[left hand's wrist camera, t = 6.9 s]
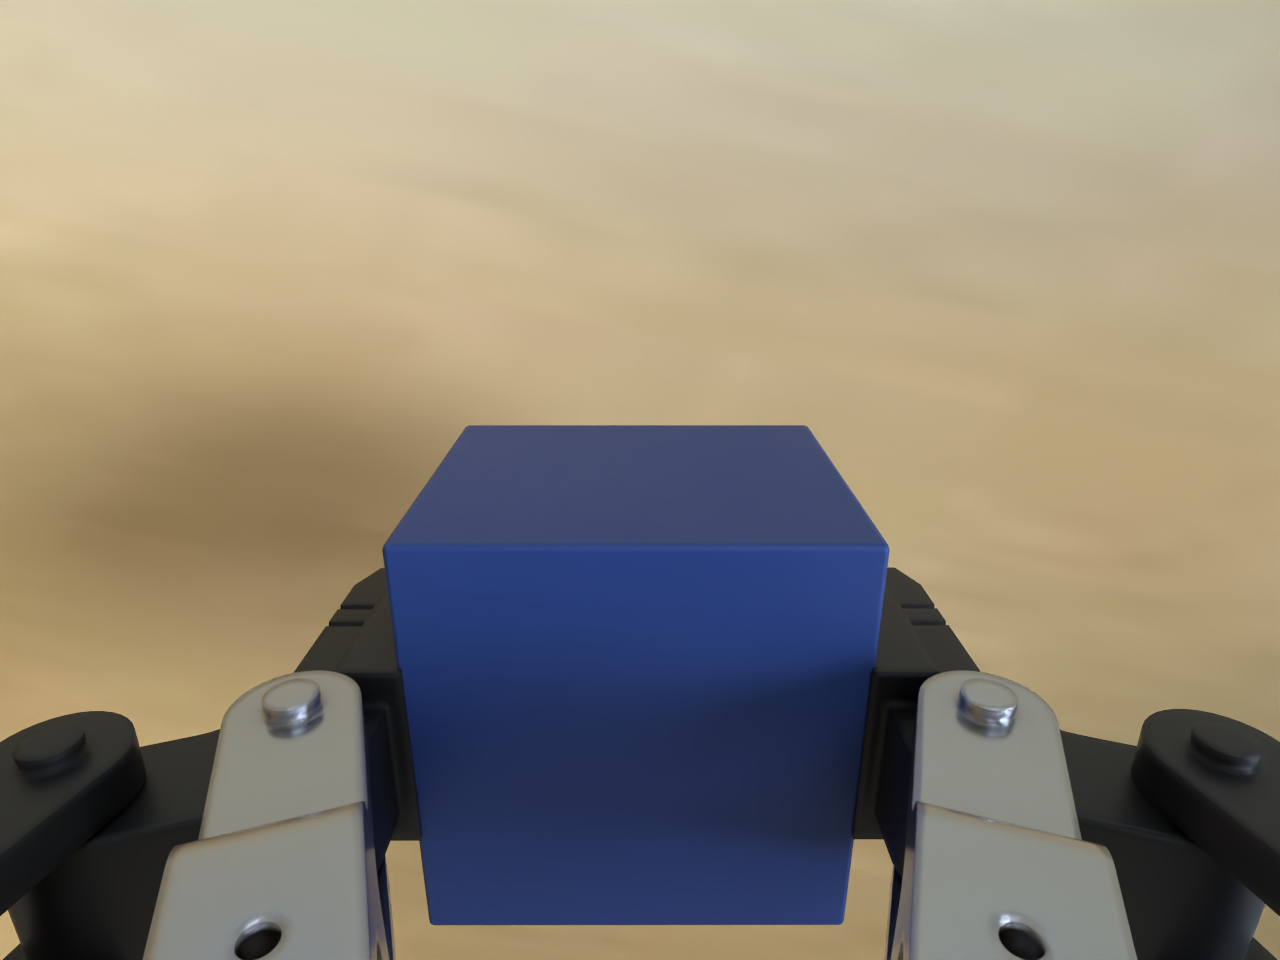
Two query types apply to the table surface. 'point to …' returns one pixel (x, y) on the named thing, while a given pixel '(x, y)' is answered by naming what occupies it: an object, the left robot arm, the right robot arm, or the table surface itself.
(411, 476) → the table surface
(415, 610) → the brick
